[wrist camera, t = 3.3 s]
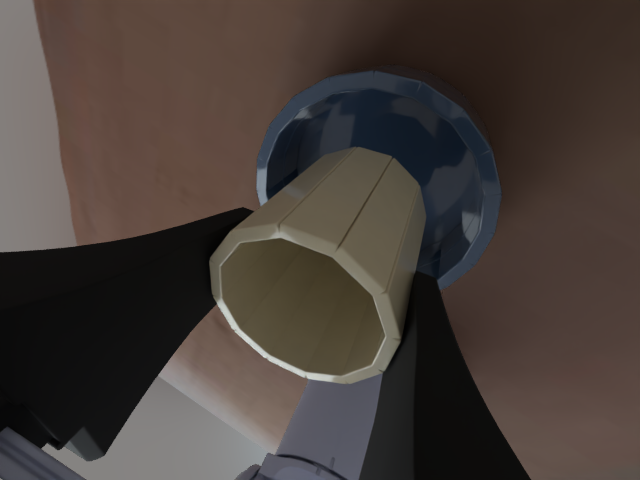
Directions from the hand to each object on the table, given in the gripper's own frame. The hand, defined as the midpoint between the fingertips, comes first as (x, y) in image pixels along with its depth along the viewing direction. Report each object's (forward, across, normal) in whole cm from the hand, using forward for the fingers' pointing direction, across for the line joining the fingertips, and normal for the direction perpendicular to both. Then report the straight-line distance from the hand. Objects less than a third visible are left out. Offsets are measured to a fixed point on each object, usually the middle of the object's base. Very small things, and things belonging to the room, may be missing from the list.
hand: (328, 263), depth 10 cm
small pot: (+4, 0, 0) cm, 4 cm away
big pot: (+8, 0, 0) cm, 8 cm away
